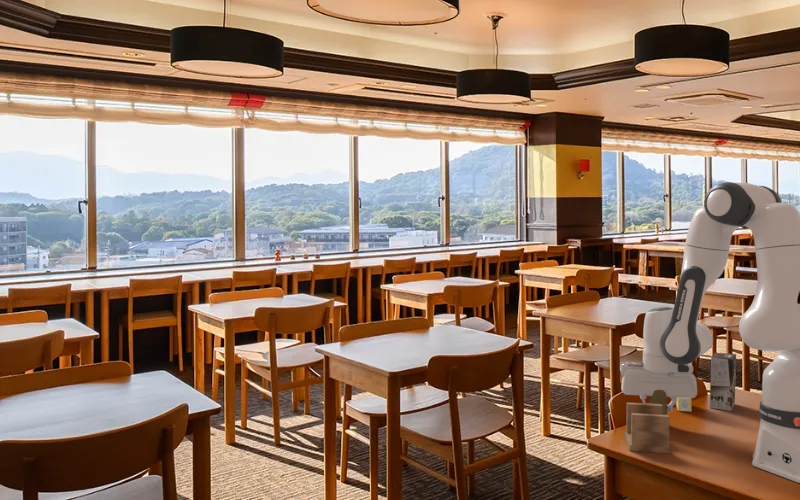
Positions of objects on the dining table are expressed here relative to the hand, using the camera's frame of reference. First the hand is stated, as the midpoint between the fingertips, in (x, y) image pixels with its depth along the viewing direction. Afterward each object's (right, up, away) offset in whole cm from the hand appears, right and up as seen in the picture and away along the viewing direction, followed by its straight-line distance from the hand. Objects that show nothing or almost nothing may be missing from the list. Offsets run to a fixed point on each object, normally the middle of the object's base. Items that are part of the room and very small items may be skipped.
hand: (658, 410), depth 193 cm
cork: (0, -4, 0) cm, 4 cm away
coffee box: (+27, -3, +18) cm, 33 cm away
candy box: (+14, -3, +17) cm, 22 cm away
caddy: (-9, -5, -16) cm, 19 cm away
